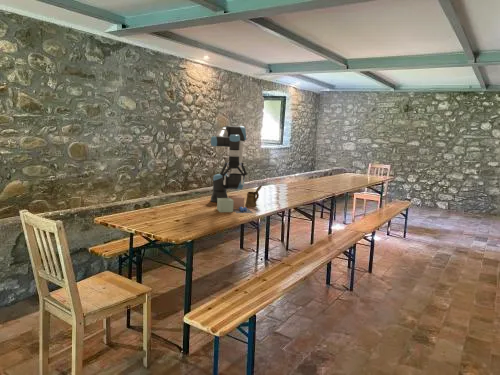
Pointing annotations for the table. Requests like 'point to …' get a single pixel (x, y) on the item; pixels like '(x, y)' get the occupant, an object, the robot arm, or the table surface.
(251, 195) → the wooden mug
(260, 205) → the table surface
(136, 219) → the table surface
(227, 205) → the sage cover
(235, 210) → the slate tile
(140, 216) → the table surface
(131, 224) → the table surface
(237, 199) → the terracotta cover
